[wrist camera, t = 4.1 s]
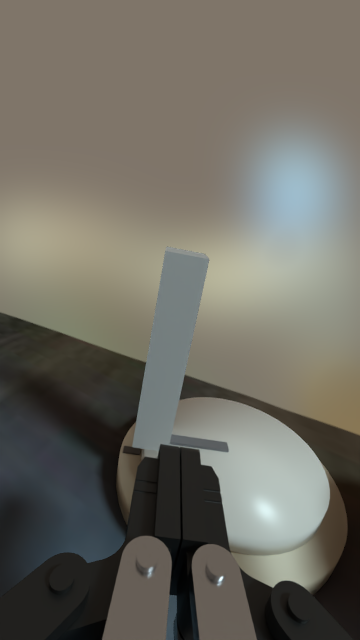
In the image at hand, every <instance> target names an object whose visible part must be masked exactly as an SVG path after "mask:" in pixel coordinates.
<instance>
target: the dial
mask: <svg viewBox="0 0 360 640" xmlns="http://www.w3.org/2000/svg"><path fill="white" fill-rule="evenodd" d="M208 263H209V258H208V257H207V256H206V255H205V254H203V253H198V252H192V251H187V250H182V249H177V248H171V247H166V251H165V257H164V263H163V269H162V274H161V280H160V286H159V292H158V298H157V303H156V310H155V316H154V321H153V327H152V333H151V339H150V345H149V350H148V356H147V362H146V368H145V374H144V380H143V386H142V392H141V397H140V403H139V409H138V415H137V421H136V427H135V433H134V439H133V444H132V447H134V448H141V449H142V454H141V461H142V460H143V458H144V457H151V458H157V457H158V452H159V448H160V444H165V445H171V446H178V447H179V448H180V447H185V448H192V449H199V451H200V459H201V465H207V466H212V468H213V470H214V471H215V473H216V475H217V476H218V478H219V484H220V494H221V497H222V505H223V510H224V516H225V523H226V529H227V535H228V542H229V547H230V551H233V552H237V553H243V554H248V555H261V556H268V555H278V554H283V553H286V552H290V551H293V550H295V549H297V548H299V547H301V546H303V545H304V544H305V543H307V542H308V541H309V540H310V539H311V538H312V537H313V536H314V535H315V533H316V532H317V531H318V529H319V527H320V524H321V522H322V520H323V518H324V516H325V513H326V511H327V509H328V505H329V500H330V488H329V482H328V478H327V476H326V473H325V470H324V468H323V466H322V464H321V462H320V461H319V459H318V458H317V456H316V455H315V453H314V452H313V451H312V450H311V448H310V447H309V446H308V445H307V444H306V443H305V442H304V441H303V440H302V439H301V438H300V437H299V436H298V435H297V434H296V433H295V432H293V431H292V430H291V429H290V428H288V427H287V426H286V425H284V424H283V423H281V422H280V421H278V420H277V419H275V418H273V417H271V416H270V415H268V414H266V413H264V412H262V411H260V410H258V409H255V408H253V407H250V406H247V405H244V404H241V403H238V402H234V401H230V400H225V399H219V398H209V397H198V398H188V399H183V400H179V398H180V393H181V388H182V384H183V379H184V374H185V370H186V365H187V360H188V356H189V351H190V346H191V342H192V337H193V332H194V328H195V324H196V319H197V313H198V310H199V305H200V300H201V296H202V291H203V286H204V281H205V277H206V273H207V268H208Z"/></svg>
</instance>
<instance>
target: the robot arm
mask: <svg viewBox="0 0 360 640" xmlns="http://www.w3.org/2000/svg"><path fill="white" fill-rule="evenodd" d="M169 594H170V595H177V613H176V617H175V620H174V629H173V631H174V640H353V638H352V637H351V636H350V635H349V634H348V633H347V632H346V631H345V630H344V629H343V628H342V627H341V626H340V624H339V623H338V622H337V621H336V620H335V619H334V618H333V617H332V616H331V615H330V614H329V613H328V611H327V610H326V609H325V608H324V607H323V606H322V605H321V604H320V603H319V602H318V601H317V600H316V599H315V597H314V596H313V595H312V594H311V593H310V592H309V591H308V590H307V589H305V588H304V587H303V586H301V585H300V584H298V583H295V582H293V581H287V580H285V581H281V582H278V583H277V584H276V585H275V586H274V588H273V587H271V586H269V585H267V584H265V583H262V582H260V581H258V580H256V579H254V578H253V577H251V576H249V575H248V574H247V573H245V572H244V571H243V570H242V569H241V568H240V567H239V565H238V563H237V561H236V560H235V558H234V557H233V555H232V554H231V551H230V547H229V542H228V535H227V529H226V523H225V516H224V510H223V505H222V497H221V494H220V484H219V478H218V476H217V475H216V473H215V471H214V470H213V468H212V466H207V465H201V459H200V451H199V449H192V448H185V447H180V448H179V447H178V446H171V445H165V444H160V448H159V452H158V457H157V458H151V457H144V458H143V460H142V461H141V463H140V464H139V465H138V467H137V473H136V478H135V483H134V489H133V494H132V500H131V506H130V513H129V519H128V525H127V531H126V538H125V542H124V543H123V545H122V547H121V548H120V549H119V550H118V551H117V552H116V553H115V554H113V555H112V556H110V557H108V558H106V559H103V560H99V561H95V562H91V563H87V562H86V561H85V560H84V559H83V558H82V557H81V556H79V555H77V554H75V553H60V554H57V555H55V556H53V557H51V558H49V559H48V560H47V561H45V562H44V563H43V564H42V565H40V566H39V567H38V568H37V569H35V570H34V571H33V572H32V573H30V574H29V575H28V576H27V577H25V578H24V579H23V580H22V581H20V582H19V583H18V584H17V585H16V586H14V587H13V588H12V589H11V590H9V591H8V592H7V593H6V594H4V595H3V596H2V597H1V598H0V640H165V639H166V627H167V615H168V604H169Z"/></svg>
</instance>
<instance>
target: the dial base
mask: <svg viewBox="0 0 360 640" xmlns="http://www.w3.org/2000/svg"><path fill="white" fill-rule="evenodd" d="M135 427H136V422H135V423H134V424H133V426H132V427H131V428H130V429H129V431H128V432H127V434H126V436H125V438H124V440H123V443H122V446H121V449H120V455H119V461H118V468H117V475H116V491H117V496H118V502H119V506H120V509H121V512H122V515H123V518H124V520H125V522H126V524H127V525H128V519H129V513H130V506H131V500H132V494H133V489H134V483H135V478H136V473H137V467H138V465H139V464H140V463H141V454H142V449H141V448H134V447H132V444H133V439H134V433H135ZM321 464H322V463H321ZM322 466H323V464H322ZM323 468H324V470H325V473H326V476H327V478H328V482H329V488H330V500H329V505H328V509H327V511H326V513H325V516H324V518H323V520H322V522H321V524H320V527H319V529H318V531H317V532H316V533H315V535H314V536H313V537H312V538H311V539H310V540H309V541H308V542H307V543H305V544H304V545H303V546H301V547H299V548H297V549H295V550H293V551H290V552H286V553H283V554H278V555H268V556H261V555H248V554H243V553H237V552H233V551H231V554H232V555H233V557H234V558H235V560H236V561H237V563H238V565H239V567H240V568H241V569H242V570H243V571H244V572H245V573H247V574H248V575H249V576H251V577H253V578H254V579H256V580H258V581H260V582H262V583H265V584H267V585H269V586H271V587H273V588H274V586H275V585H276V584H277V583H278V582H281V581H285V580H287V581H293V582H295V583H298V584H300V585H301V586H303V587H304V588H305V589H307V590H308V591H309V592H310V593H311V594H312V595H314V594H315V593H316V592H317V591H318V590H319V589H320V588H321V587H322V586H323V585H324V584H325V583H326V582H327V580H328V579H329V577H330V576H331V574H332V572H333V571H334V569H335V567H336V565H337V563H338V561H339V558H340V556H341V554H342V552H343V549H344V546H345V543H346V539H347V530H348V526H347V514H346V510H345V506H344V502H343V499H342V497H341V494H340V492H339V490H338V488H337V486H336V484H335V482H334V480H333V478H332V477H331V475H330V474H329V472H328V471H327V469H326V468H325V467H324V466H323Z"/></svg>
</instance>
